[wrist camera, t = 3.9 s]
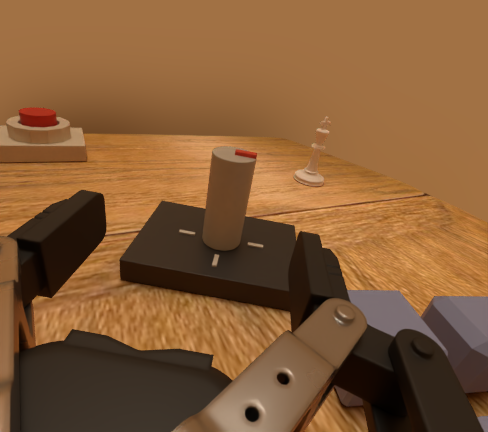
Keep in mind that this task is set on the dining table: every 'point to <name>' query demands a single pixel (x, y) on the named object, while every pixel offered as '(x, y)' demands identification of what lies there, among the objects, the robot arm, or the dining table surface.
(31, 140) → the box
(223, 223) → the knob
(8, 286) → the robot arm
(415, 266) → the dining table surface
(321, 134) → the chess piece
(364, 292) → the blocks
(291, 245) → the panel
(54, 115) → the button
